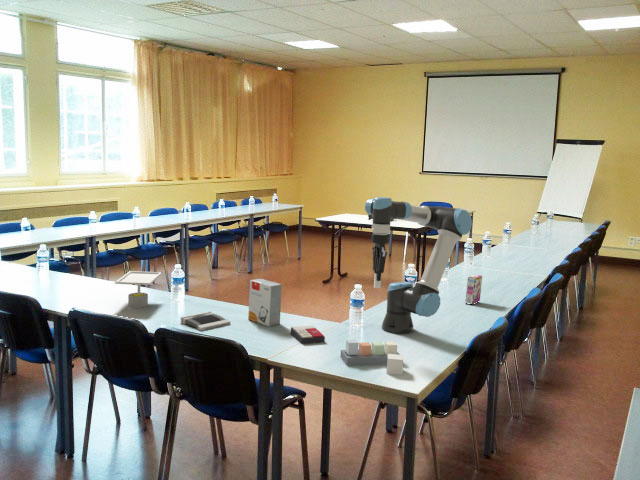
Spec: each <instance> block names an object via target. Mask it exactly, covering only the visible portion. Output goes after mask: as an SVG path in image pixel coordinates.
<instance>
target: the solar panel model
mask: <svg viewBox="0 0 640 480" xmlns="http://www.w3.org/2000/svg"><path fill="white" fill-rule="evenodd" d="M162 274H163V273H162V272H159V271H156V272H155V271H138V270H137V271H135V270H129V271H128V272H126V273H125V274H124V275H122V276H121V277H120V278H118V279H117V280H115V281H114V284H115V285H137V292H131V293H129V294H128V295H127V296H128V307H129V308H134V309H135V308H136V309H138V308H139V309H140V308H146V307H147V306H148V305H149V304H148V303H149V294H148V293H146V292H141V286H150V285H152V284H153V283H154V282H155V281H156V280H157V279H158V278H159V277H160V276H161V275H162Z"/></svg>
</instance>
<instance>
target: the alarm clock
mask: <svg viewBox="0 0 640 480" xmlns="http://www.w3.org/2000/svg"><path fill="white" fill-rule="evenodd" d="M180 324H182V325H189V326H192V327H194V328H196V329H197V330H198V331H201V332H202V331H208V330H212V329H217V328H220V327H225V326H228V325H231V320H229V319H227V318H224V317H223V316H221V315H218V314H216V313H214V312H212V311H206V312H200V313H196V314H191V315H185V316H180Z"/></svg>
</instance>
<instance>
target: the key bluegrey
mask: <svg viewBox="0 0 640 480" xmlns="http://www.w3.org/2000/svg"><path fill="white" fill-rule="evenodd" d="M345 350H346V353H347V354H348V355H358V350H359V341H358V340H356V339H346V340H345Z"/></svg>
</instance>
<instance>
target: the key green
mask: <svg viewBox="0 0 640 480" xmlns="http://www.w3.org/2000/svg"><path fill="white" fill-rule="evenodd" d="M384 347H385V343H383V342H382V341H379V342H378V341H376V342H375V341H374V342H371V349H372V351H371V352H372V354H373V355H384Z"/></svg>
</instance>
